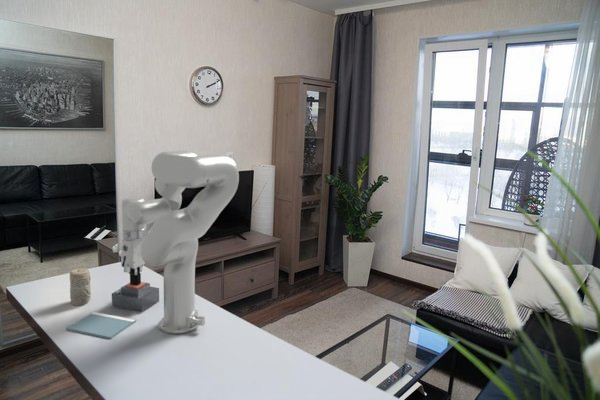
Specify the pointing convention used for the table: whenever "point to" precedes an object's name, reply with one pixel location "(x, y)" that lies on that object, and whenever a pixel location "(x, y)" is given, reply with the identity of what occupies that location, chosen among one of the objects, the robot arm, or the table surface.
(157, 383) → the table surface
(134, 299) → the breaker box
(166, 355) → the table surface
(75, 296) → the carving
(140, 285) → the button
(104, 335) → the mat
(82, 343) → the table surface
